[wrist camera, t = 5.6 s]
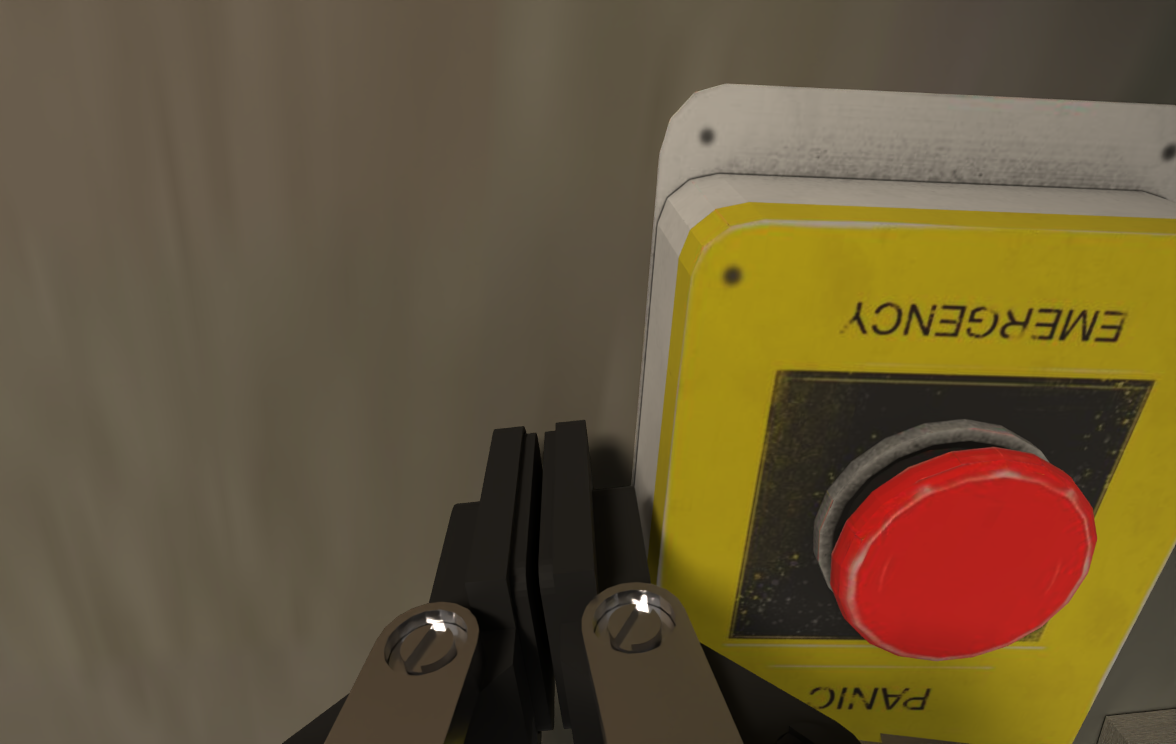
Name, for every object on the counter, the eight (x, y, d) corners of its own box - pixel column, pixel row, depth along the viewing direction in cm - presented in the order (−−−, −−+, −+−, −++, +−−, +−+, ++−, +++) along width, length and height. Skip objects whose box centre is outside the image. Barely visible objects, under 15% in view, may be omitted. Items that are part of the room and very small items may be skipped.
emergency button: (1540, 127, 7) (1070, 899, 14) (1200, 104, 11) (957, 711, 18) (713, 88, 7) (621, 904, 13) (660, 78, 11) (608, 710, 17)
